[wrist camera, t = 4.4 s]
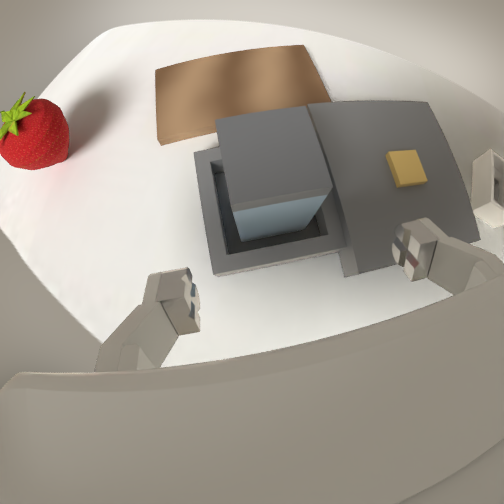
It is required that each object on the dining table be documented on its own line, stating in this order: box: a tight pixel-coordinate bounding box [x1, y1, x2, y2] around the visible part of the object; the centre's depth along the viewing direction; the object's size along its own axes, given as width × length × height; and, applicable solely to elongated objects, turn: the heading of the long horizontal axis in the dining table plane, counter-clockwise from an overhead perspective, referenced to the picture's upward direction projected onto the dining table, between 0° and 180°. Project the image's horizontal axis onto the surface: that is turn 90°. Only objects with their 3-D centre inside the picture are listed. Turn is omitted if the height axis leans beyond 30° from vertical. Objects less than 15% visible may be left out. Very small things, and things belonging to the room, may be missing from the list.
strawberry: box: [0, 92, 69, 170], centre depth 16 cm, size 6×8×10 cm
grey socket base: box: [194, 101, 481, 277], centre depth 18 cm, size 19×12×4 cm, turn 101°
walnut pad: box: [155, 45, 331, 146], centre depth 21 cm, size 14×8×1 cm, turn 101°
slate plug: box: [215, 106, 333, 242], centre depth 16 cm, size 4×4×8 cm
